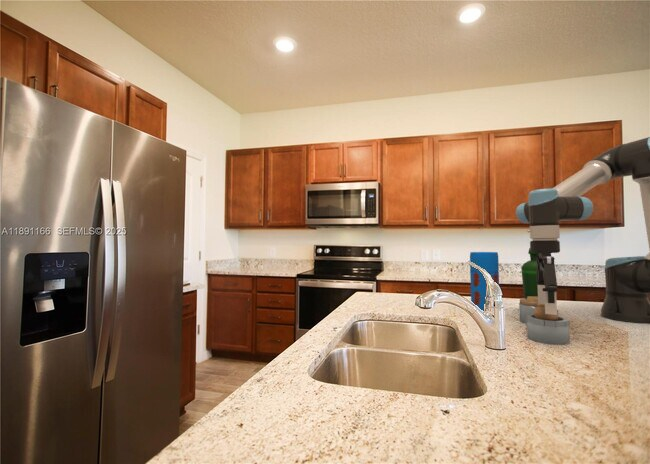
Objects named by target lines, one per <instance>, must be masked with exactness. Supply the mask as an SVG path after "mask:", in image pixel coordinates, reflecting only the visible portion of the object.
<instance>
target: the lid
mask: <svg viewBox="0 0 650 464" xmlns="http://www.w3.org/2000/svg"><path fill="white" fill-rule="evenodd" d="M558 316H559V310H558V309H557V315H552V314H545V304H538V307H536V308H534V318H536V319H541V320H548V321H558Z"/></svg>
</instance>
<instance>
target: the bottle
mask: <svg viewBox="0 0 650 464" xmlns="http://www.w3.org/2000/svg"><path fill="white" fill-rule="evenodd" d="M528 248H529V249H528V253H527V254H529V257H530V260H527V261H526V262H524V263H523V265H522V266H521V267H520V269H521V277H522V278H521V279H522V289H523V290H522V291H523V298H527V296H538V285H539V284H538V283H537V281H536V279H537V255H539V253H532V252H531V251H530V247H528Z"/></svg>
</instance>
